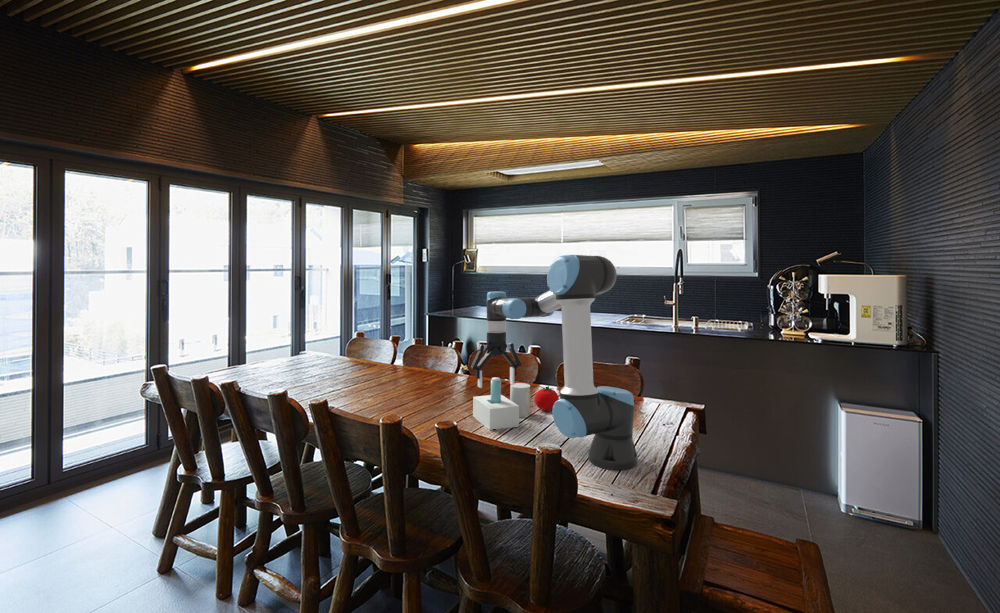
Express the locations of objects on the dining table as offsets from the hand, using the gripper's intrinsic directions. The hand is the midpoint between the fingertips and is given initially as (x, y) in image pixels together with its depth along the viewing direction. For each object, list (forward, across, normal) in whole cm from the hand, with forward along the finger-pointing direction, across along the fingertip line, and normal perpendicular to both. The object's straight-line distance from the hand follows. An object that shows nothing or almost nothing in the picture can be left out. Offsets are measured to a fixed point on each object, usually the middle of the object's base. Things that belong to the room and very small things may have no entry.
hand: (496, 385), depth 191 cm
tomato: (+14, -26, -7) cm, 30 cm away
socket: (+14, 0, -1) cm, 14 cm away
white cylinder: (+14, -13, -6) cm, 20 cm away
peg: (+12, 0, -1) cm, 12 cm away
